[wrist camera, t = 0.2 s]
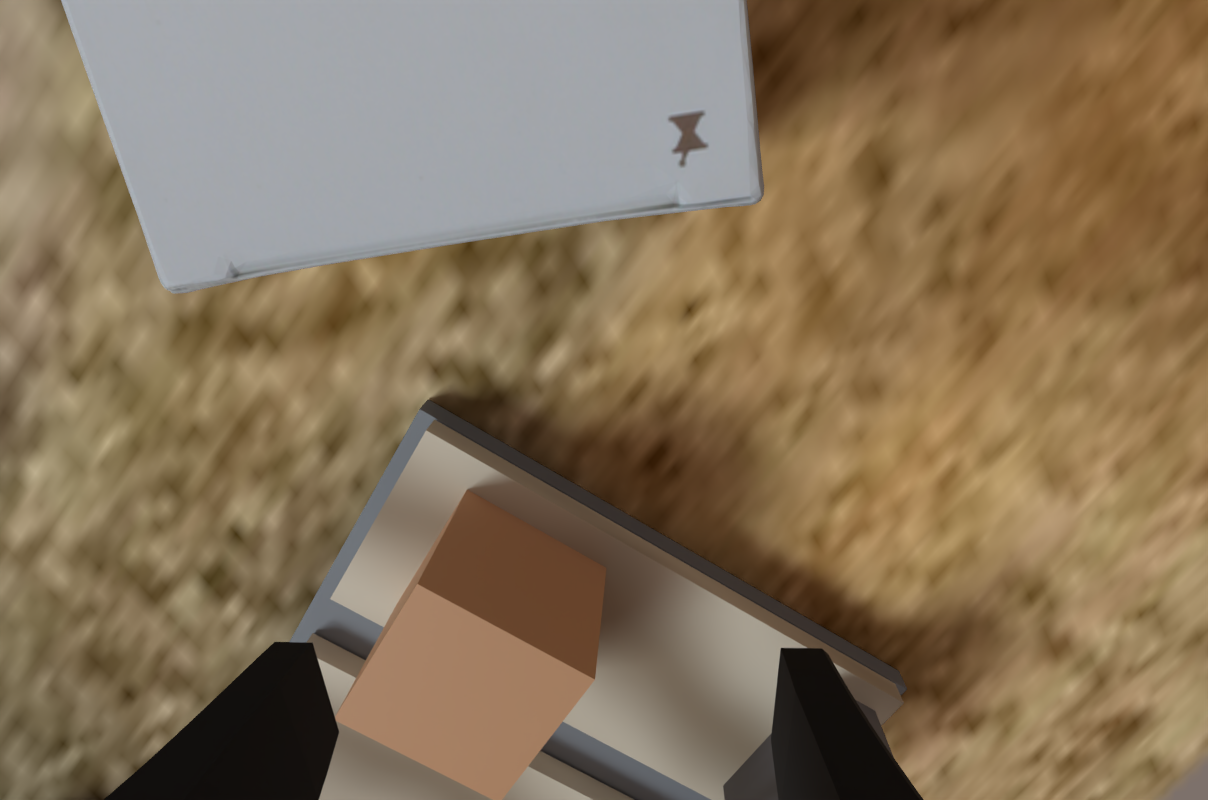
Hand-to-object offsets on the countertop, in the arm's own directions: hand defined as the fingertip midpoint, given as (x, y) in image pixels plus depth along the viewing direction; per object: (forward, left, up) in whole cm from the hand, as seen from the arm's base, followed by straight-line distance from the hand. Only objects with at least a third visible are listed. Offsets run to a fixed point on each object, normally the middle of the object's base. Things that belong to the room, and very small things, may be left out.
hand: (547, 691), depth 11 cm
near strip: (-5, -4, -9) cm, 11 cm away
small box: (+7, +6, -11) cm, 14 cm away
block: (-5, 0, -9) cm, 10 cm away
